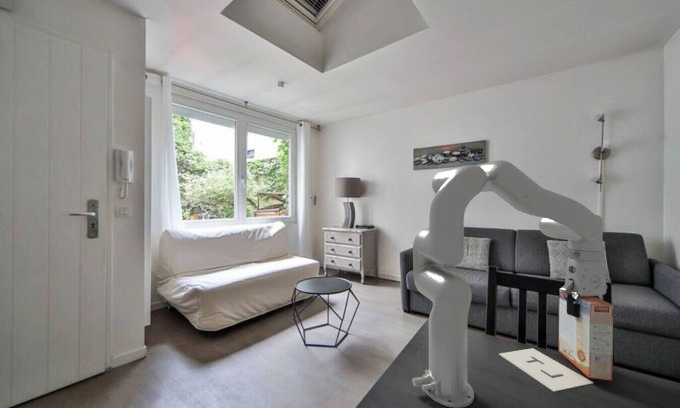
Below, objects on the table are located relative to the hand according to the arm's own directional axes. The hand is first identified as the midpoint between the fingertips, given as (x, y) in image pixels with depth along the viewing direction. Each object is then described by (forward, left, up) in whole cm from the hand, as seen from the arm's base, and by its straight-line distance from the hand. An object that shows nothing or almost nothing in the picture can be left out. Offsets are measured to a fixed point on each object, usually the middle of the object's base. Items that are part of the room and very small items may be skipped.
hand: (584, 314), depth 80 cm
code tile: (-11, +4, -17) cm, 20 cm away
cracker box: (0, 0, -15) cm, 15 cm away
